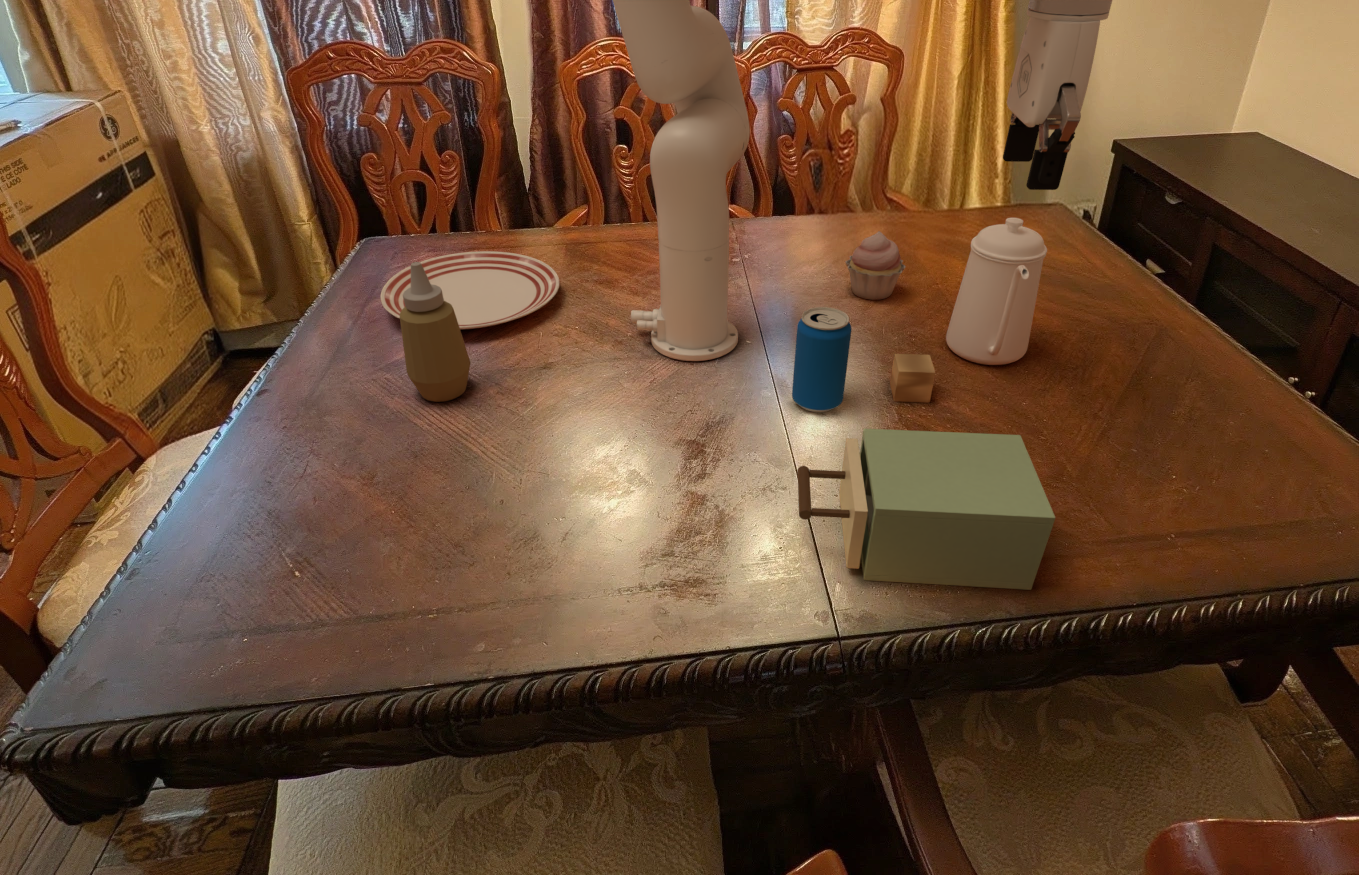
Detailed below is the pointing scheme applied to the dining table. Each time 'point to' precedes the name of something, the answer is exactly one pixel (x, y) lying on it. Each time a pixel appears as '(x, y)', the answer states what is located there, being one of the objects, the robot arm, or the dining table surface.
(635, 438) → the dining table surface
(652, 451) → the dining table surface
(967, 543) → the cabinet
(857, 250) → the cupcake
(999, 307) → the coffeepot
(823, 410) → the beverage can
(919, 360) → the block
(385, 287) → the dinner plate
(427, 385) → the squeeze bottle
